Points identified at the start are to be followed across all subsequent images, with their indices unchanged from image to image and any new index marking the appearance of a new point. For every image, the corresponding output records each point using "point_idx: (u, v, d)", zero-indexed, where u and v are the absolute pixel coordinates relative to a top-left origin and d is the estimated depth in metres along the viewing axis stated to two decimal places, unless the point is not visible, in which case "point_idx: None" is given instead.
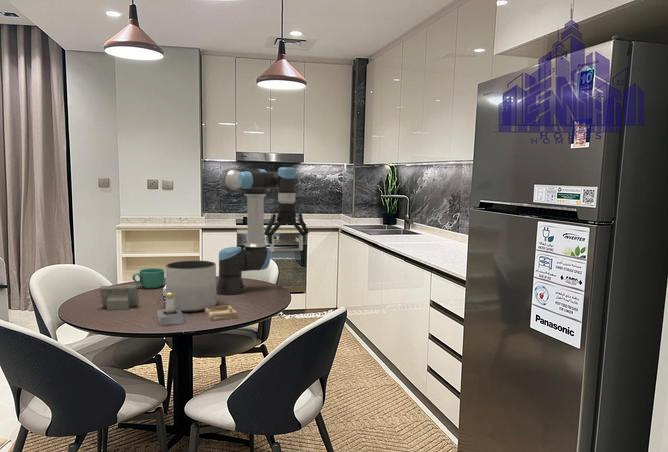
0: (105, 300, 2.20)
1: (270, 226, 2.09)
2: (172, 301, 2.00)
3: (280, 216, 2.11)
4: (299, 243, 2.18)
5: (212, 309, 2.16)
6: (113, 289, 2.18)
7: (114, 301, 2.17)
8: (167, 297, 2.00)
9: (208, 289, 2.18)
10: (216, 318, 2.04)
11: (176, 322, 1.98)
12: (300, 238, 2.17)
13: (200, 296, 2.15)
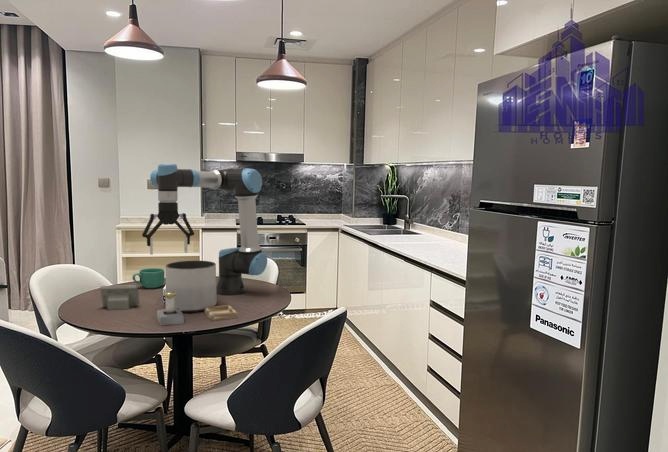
0: (106, 300, 2.20)
1: (148, 227, 1.94)
2: (172, 301, 2.00)
3: (160, 216, 1.96)
4: (184, 245, 2.03)
5: (212, 309, 2.16)
6: (113, 289, 2.18)
7: (114, 301, 2.18)
8: (167, 297, 2.00)
9: (208, 289, 2.18)
10: (216, 318, 2.04)
11: (176, 322, 1.98)
12: (185, 240, 2.02)
13: (200, 296, 2.15)
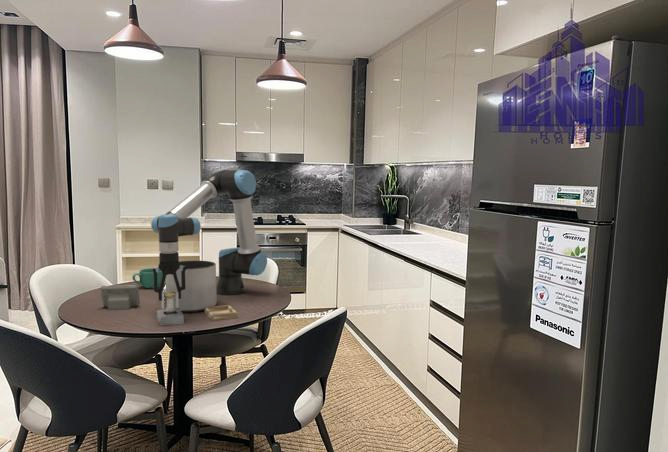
0: (106, 299, 2.20)
1: (155, 282, 1.97)
2: (172, 301, 2.00)
3: (161, 267, 1.98)
4: None
5: (212, 309, 2.16)
6: (113, 289, 2.19)
7: (114, 300, 2.18)
8: (167, 297, 2.00)
9: (208, 289, 2.18)
10: (216, 318, 2.04)
11: (176, 322, 1.98)
12: (176, 294, 2.02)
13: (200, 296, 2.15)
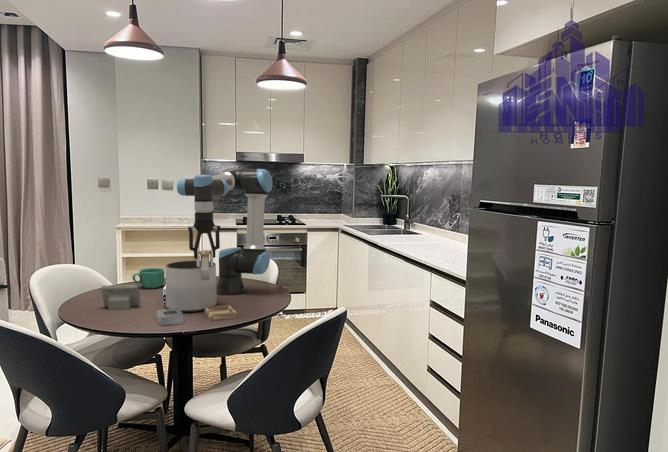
0: (107, 299, 2.21)
1: (191, 240, 2.02)
2: (207, 259, 2.05)
3: (196, 226, 2.03)
4: (210, 258, 2.08)
5: (212, 309, 2.16)
6: (114, 289, 2.19)
7: (115, 300, 2.18)
8: (202, 255, 2.05)
9: (208, 289, 2.18)
10: (216, 318, 2.04)
11: (176, 322, 1.98)
12: None
13: (200, 296, 2.15)
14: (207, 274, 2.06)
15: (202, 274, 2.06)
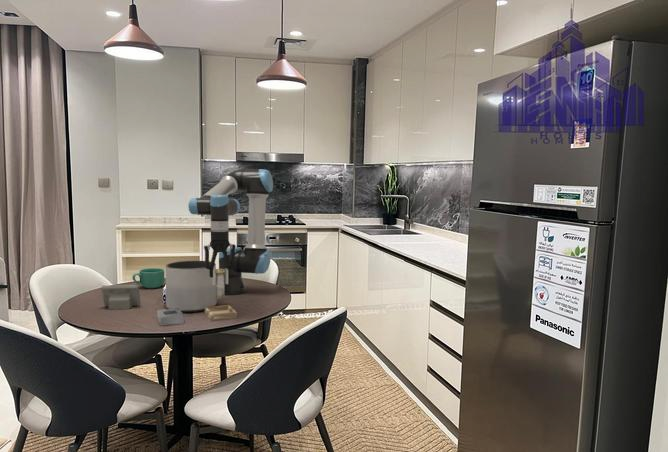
0: (107, 299, 2.21)
1: (207, 259, 2.06)
2: (222, 278, 2.09)
3: (212, 245, 2.06)
4: (225, 277, 2.12)
5: (212, 309, 2.16)
6: (114, 289, 2.19)
7: (115, 300, 2.18)
8: (218, 274, 2.08)
9: (208, 289, 2.18)
10: (216, 318, 2.04)
11: (176, 322, 1.98)
12: (225, 272, 2.10)
13: (200, 296, 2.15)
14: (222, 292, 2.09)
15: (217, 292, 2.09)
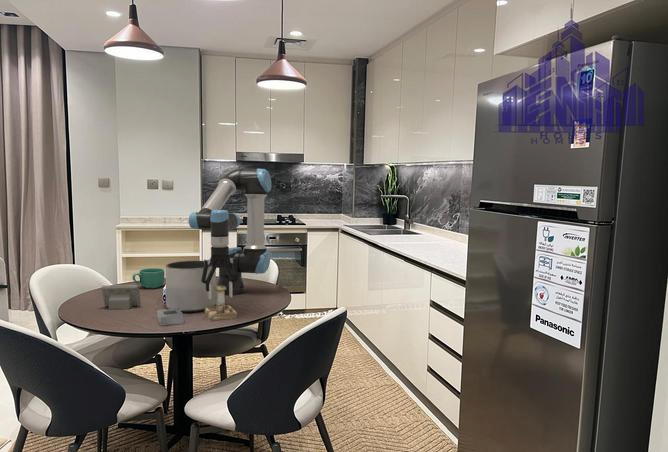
0: (107, 299, 2.21)
1: (205, 273, 2.06)
2: (223, 295, 2.09)
3: (212, 260, 2.07)
4: (229, 290, 2.13)
5: (212, 309, 2.16)
6: (114, 288, 2.19)
7: (115, 300, 2.18)
8: (218, 291, 2.08)
9: None
10: (216, 318, 2.04)
11: (176, 322, 1.98)
12: (230, 285, 2.12)
13: (200, 296, 2.15)
14: (223, 309, 2.10)
15: (218, 309, 2.10)
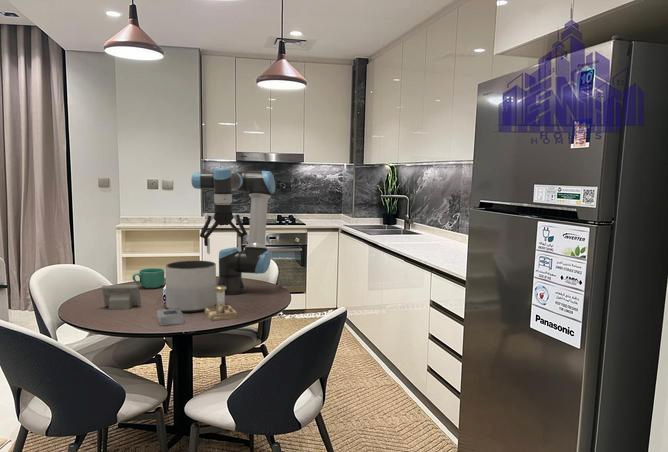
0: (107, 299, 2.21)
1: (205, 228, 2.06)
2: (223, 295, 2.10)
3: (216, 218, 2.08)
4: (238, 245, 2.15)
5: (212, 309, 2.16)
6: (114, 288, 2.19)
7: (115, 300, 2.18)
8: (218, 291, 2.09)
9: (208, 289, 2.18)
10: (216, 318, 2.04)
11: (176, 322, 1.98)
12: (238, 240, 2.14)
13: (200, 296, 2.15)
14: (223, 309, 2.10)
15: (218, 309, 2.10)
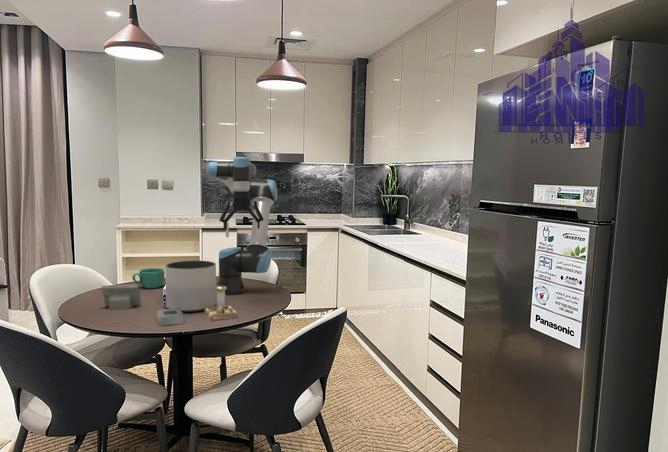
0: (108, 299, 2.21)
1: (225, 213, 2.19)
2: (223, 295, 2.10)
3: (235, 203, 2.21)
4: (254, 230, 2.28)
5: (212, 309, 2.16)
6: (115, 288, 2.19)
7: (115, 300, 2.18)
8: (218, 291, 2.09)
9: (208, 289, 2.18)
10: (216, 318, 2.04)
11: (176, 322, 1.98)
12: (255, 225, 2.27)
13: (200, 296, 2.15)
14: (223, 309, 2.10)
15: (218, 309, 2.10)
